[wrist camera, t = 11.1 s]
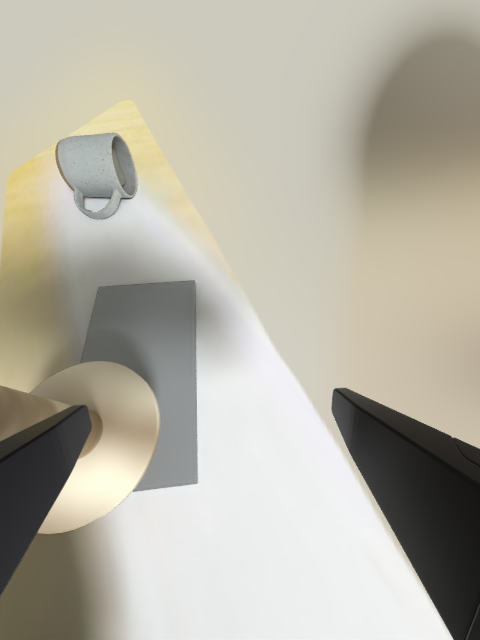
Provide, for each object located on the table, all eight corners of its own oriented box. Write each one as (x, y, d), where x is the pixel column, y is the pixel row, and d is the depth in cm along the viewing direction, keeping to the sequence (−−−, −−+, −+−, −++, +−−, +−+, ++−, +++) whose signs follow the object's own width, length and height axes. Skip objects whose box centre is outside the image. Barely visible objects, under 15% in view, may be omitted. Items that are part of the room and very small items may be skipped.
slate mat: (197, 482, 19) (196, 483, 18) (52, 501, 18) (47, 502, 17) (195, 283, 28) (194, 280, 28) (101, 290, 28) (98, 287, 27)
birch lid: (158, 511, 14) (45, 609, 6) (-20, 544, 13) (-494, 724, 5) (161, 357, 19) (103, 281, 10) (30, 373, 18) (-158, 303, 9)
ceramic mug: (91, 178, 38) (60, 121, 32) (141, 178, 39) (121, 122, 32) (70, 222, 33) (28, 166, 27) (128, 222, 34) (101, 166, 27)
